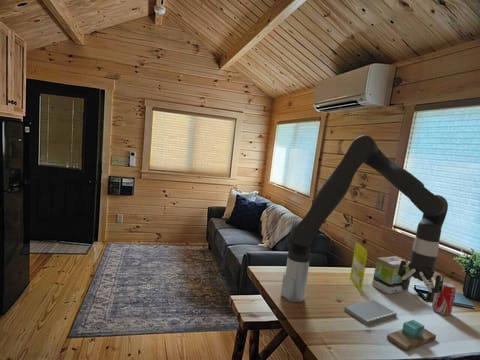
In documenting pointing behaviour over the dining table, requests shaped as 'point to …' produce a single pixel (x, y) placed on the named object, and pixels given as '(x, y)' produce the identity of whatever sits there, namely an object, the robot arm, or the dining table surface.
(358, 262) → the food package
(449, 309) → the soda can
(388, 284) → the tea box
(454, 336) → the dining table surface
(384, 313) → the gray notebook
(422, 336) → the wooden base with cube
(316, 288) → the dining table surface
